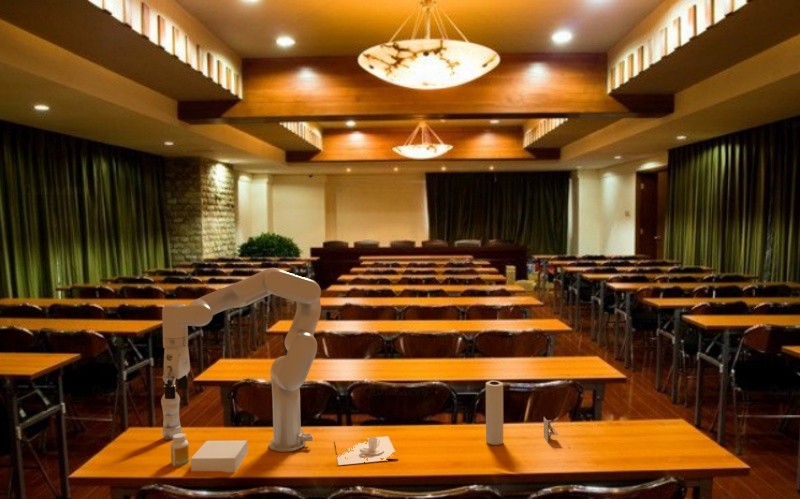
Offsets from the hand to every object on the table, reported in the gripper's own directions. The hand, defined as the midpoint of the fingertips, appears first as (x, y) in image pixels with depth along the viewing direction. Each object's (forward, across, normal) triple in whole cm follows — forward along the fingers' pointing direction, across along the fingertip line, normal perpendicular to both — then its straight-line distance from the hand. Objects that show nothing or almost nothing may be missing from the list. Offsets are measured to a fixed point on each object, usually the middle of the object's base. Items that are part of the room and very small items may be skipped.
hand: (176, 393), depth 180 cm
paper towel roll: (+22, +17, -106) cm, 110 cm away
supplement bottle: (+24, 0, -1) cm, 24 cm away
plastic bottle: (+24, +22, +11) cm, 34 cm away
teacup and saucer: (+23, +12, -60) cm, 66 cm away
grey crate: (+24, +1, -14) cm, 27 cm away
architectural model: (+23, +20, -126) cm, 129 cm away
